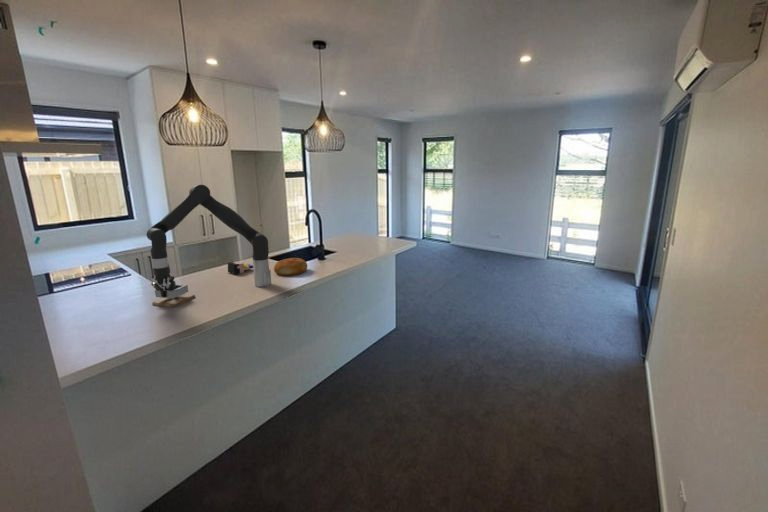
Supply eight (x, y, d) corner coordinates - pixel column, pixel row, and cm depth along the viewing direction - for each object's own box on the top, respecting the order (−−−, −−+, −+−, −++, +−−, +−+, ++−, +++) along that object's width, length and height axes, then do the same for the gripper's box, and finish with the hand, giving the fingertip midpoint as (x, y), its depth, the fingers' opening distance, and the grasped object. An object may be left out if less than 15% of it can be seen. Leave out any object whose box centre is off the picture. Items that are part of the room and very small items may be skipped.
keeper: (195, 297, 197) (192, 278, 194) (174, 307, 183) (171, 286, 180) (174, 295, 200) (171, 276, 197) (152, 304, 186) (149, 284, 183)
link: (188, 291, 194) (187, 285, 193) (173, 298, 184) (172, 291, 183) (171, 290, 196) (170, 283, 195) (155, 296, 186) (154, 289, 185)
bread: (274, 268, 254) (273, 255, 252) (306, 266, 261) (305, 254, 258) (274, 278, 233) (273, 264, 231) (309, 275, 240) (308, 261, 237)
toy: (255, 262, 247) (235, 265, 235) (254, 272, 248) (235, 274, 236) (245, 260, 254) (226, 262, 242) (245, 269, 255) (226, 271, 243)
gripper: (156, 269, 174) (161, 301, 178) (177, 262, 187) (181, 292, 191) (143, 268, 175) (149, 300, 179) (165, 261, 188) (169, 291, 192)
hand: (165, 296), depth 185 cm, fingers closed on link, 1 cm apart
